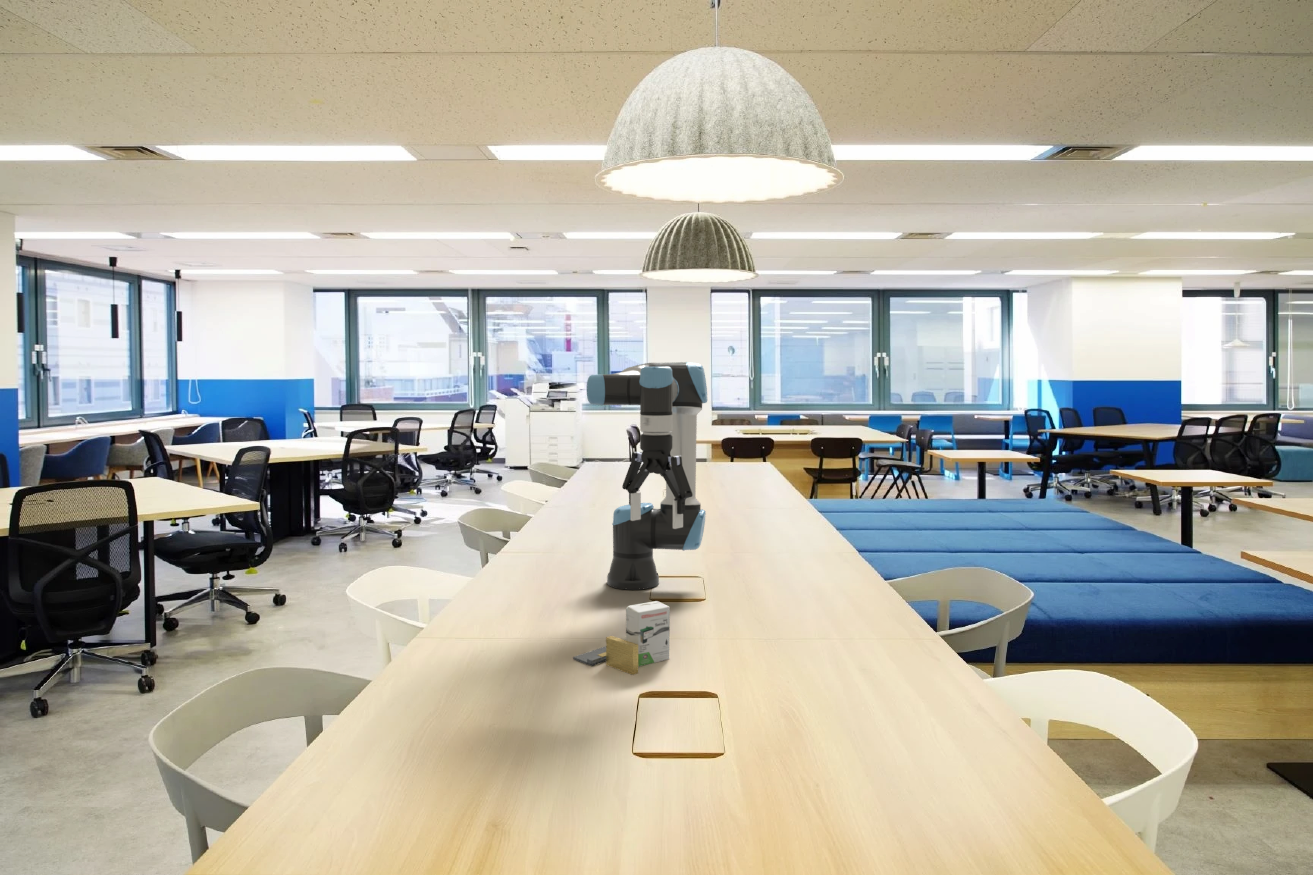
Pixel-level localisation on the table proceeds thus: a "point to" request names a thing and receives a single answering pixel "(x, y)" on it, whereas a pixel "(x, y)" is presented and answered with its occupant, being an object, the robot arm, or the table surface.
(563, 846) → the table surface
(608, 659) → the rail
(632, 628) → the ink box
